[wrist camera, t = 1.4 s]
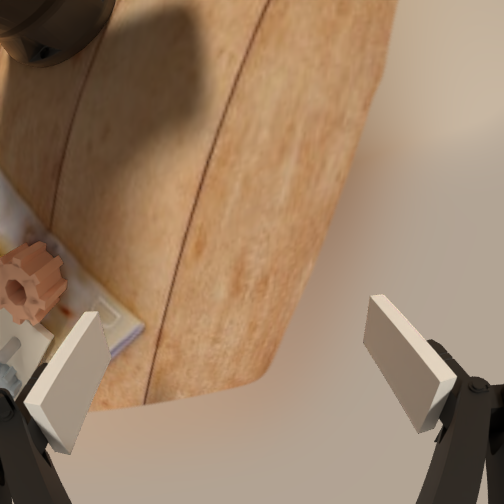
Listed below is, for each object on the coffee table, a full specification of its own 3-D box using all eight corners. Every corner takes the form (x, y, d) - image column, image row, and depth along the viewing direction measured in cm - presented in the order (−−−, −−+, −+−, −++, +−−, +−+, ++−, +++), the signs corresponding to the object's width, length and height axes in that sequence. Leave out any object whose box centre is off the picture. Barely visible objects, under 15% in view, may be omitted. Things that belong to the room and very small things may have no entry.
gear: (8, 275, 34) (-16, 293, 28) (29, 228, 32) (2, 242, 27) (51, 314, 36) (31, 338, 30) (77, 271, 35) (55, 292, 29)
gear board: (-16, 366, 39) (-32, 386, 33) (8, 294, 35) (-15, 313, 29) (21, 399, 41) (7, 420, 35) (54, 335, 37) (36, 359, 31)
